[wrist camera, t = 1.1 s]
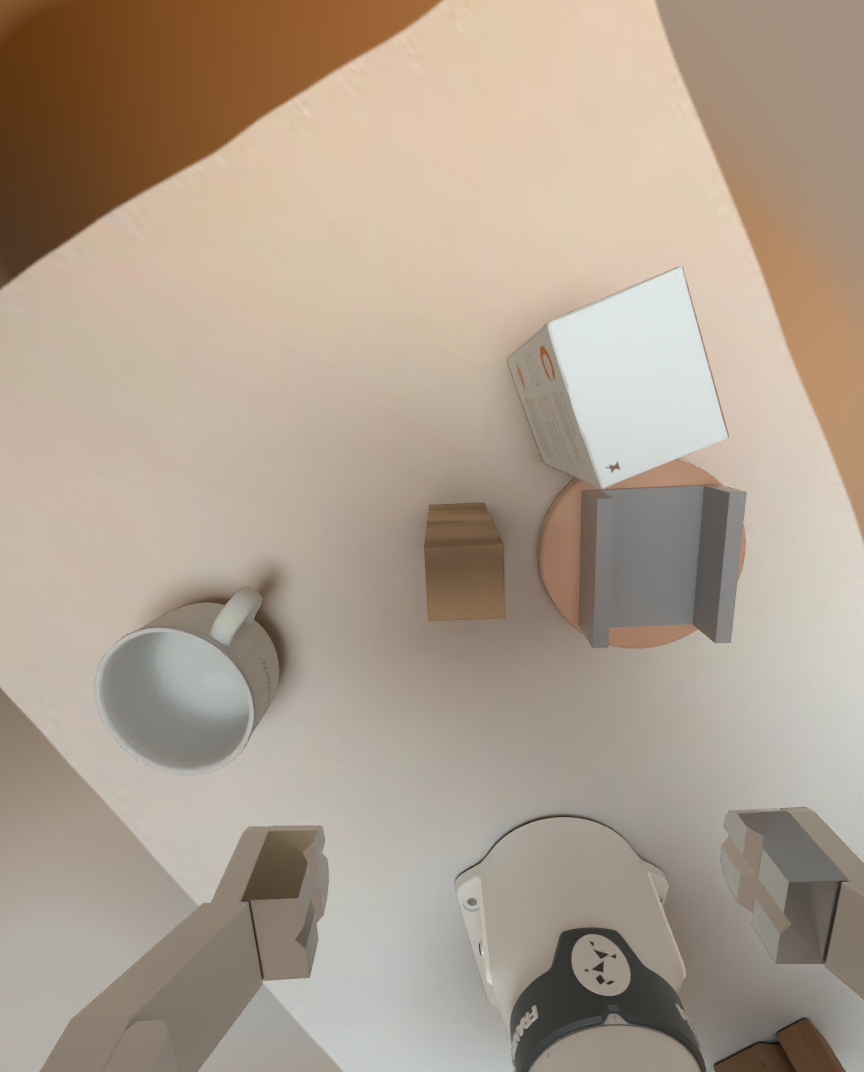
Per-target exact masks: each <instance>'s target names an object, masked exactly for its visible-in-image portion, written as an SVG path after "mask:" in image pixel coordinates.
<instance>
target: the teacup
mask: <svg viewBox="0 0 864 1072" xmlns="http://www.w3.org/2000/svg"><path fill="white" fill-rule="evenodd" d="M261 603H262V596H261V594H260V593H259V592H257V591H256V590H254V589H252V588H249V587H243V588H241V589H240V590H239V591H237V592H236V593H235V594H234V595H233V597H232V598H231V599H230V600H229V601H228V602H227V604H226V605H223V604H219V603H196V604H191V605H187V606H183V607H180V608H178V609H175V610H173V611H171V612H169V613H167V614H165V615H163V616H161V617H159V618H157V619H156V620H154V621H152V622H150V623H149V624H147V625H145V626H144V627H142V628H141V629H139V630H136V631H134V632H131V633H129V634H127V635H125V636H124V637H122V638H121V639H120V640H119V641H117V642H116V643H115V644H114V645H112V646H111V648H110V649H109V650H108V651H107V652H106V653H105V655H104V656H103V658H102V660H101V662H100V664H99V666H98V669H97V673H96V677H95V699H96V705H97V709H98V712H99V715H100V717H101V719H102V721H103V723H104V725H105V727H106V728H107V730H108V732H109V733H110V735H111V736H112V737H113V738H114V739H115V740H116V742H117V743H118V744H119V745H120V746H121V747H122V748H123V749H124V750H126V751H127V752H128V753H129V754H130V755H131V756H132V757H133V758H134V759H136V760H137V761H140V762H142V763H144V764H146V765H148V766H150V767H152V768H154V769H156V770H159V771H164V772H167V773H170V774H176V775H197V774H204V773H208V772H212V771H214V770H217V769H219V768H221V767H223V766H225V765H226V764H228V763H230V762H231V761H232V760H234V759H235V758H236V756H238V755H239V754H240V753H241V751H242V750H243V749H244V748H245V746H246V745H247V743H248V741H249V739H250V737H251V734H252V732H253V731H254V729H255V728H256V727H257V725H258V724H259V722H260V720H261V719H262V717H263V715H264V714H265V712H266V711H267V709H268V707H269V705H270V703H271V701H272V699H273V697H274V695H275V692H276V689H277V685H278V679H279V662H278V657H277V653H276V649H275V647H274V645H273V643H272V641H271V639H270V637H269V635H268V634H267V633H266V631H265V630H264V629H263V627H262V626H261V625H260V624H259V623H258V622H256V621H255V620H254V618H255V615H256V613H257V611H258V609H259V607H260V605H261Z"/></svg>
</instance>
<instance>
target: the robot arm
mask: <svg viewBox="0 0 864 1072" xmlns="http://www.w3.org/2000/svg"><path fill="white" fill-rule="evenodd" d="M723 827H724V828H725V830H726V831H727V833H728V834H729V837H728V838H727V840H726V841H725V842H724V843H723V844H722V845H721V855H720V861H721V866H722V870H723V875H724V878H725V880H726V882H727V885H728V887H729V889H730V891H731V892H732V894H733V896H734V897H735V899H736V901H737V902H738V903H740V904H741V905H742V906H744V907H745V908H746V909H748V910H749V911H750V912H752V913H753V914H752V927H753V928H754V930H755V932H756V933H757V935H758V936H759V938H760V940H761V941H762V943H763V944H764V946H765V948H766V949H767V951H768V953H769V954H770V956H771V957H772V959H773V961H774V962H775V964H825V967H826V968H827V969H828V970H830V971H831V972H832V973H833V974H834V975H835V976H837V977H838V978H839V979H840V980H841V981H843V982H844V983H845V984H846V985H847V986H848V987H850V988H851V989H852V990H853V991H854V992H855V993H857V994H858V995H859V996H860V997H861V998H863V999H864V863H863V862H862V861H861V860H860V859H859V858H858V857H857V856H856V855H855V854H854V853H853V852H852V851H851V850H850V849H849V848H848V847H847V845H846V844H845V843H844V842H843V841H842V840H841V839H840V838H839V837H838V836H837V835H836V834H835V833H834V832H833V831H832V830H831V829H830V828H829V827H828V826H827V825H826V823H825V822H824V821H823V820H822V819H821V818H820V817H819V816H818V815H817V814H816V813H815V812H814V811H812V810H811V809H809V808H807V807H796V808H780V809H755V810H734V811H728V813H727V814H726V815H725V819H724V826H723ZM324 843H325V837H324V830H323V827H322V826H320V825H319V826H273V827H248V828H247V829H246V830H245V831H244V832H243V833H242V836H241V838H240V840H239V842H238V844H237V846H236V849H235V851H234V853H233V855H232V857H231V860H230V862H229V864H228V866H227V868H226V871H225V873H224V875H223V877H222V879H221V881H220V884H219V886H218V888H217V890H216V892H215V895H214V897H213V899H212V901H211V903H203V904H202V905H200V906H199V907H198V908H197V909H196V910H195V911H194V912H193V913H192V914H190V915H189V916H188V917H187V918H186V919H185V920H183V921H182V922H181V923H180V924H179V925H178V926H177V927H175V928H174V929H173V930H172V931H171V932H170V933H169V934H168V935H166V937H164V938H163V939H162V940H161V941H160V942H159V943H157V944H156V945H155V946H154V947H153V948H152V949H151V950H150V951H148V952H147V953H146V954H145V955H144V956H143V957H142V958H140V959H139V960H138V961H137V962H136V963H135V964H133V965H132V966H131V967H130V968H129V969H128V970H127V971H126V972H124V973H123V974H122V975H121V976H120V977H119V978H118V979H117V980H115V981H114V982H113V983H112V984H111V985H110V986H109V987H107V989H105V990H104V991H103V992H102V993H101V994H100V995H98V996H97V997H96V998H95V999H94V1000H93V1001H92V1002H91V1003H89V1004H88V1005H87V1006H86V1007H85V1008H84V1009H82V1010H81V1011H80V1012H79V1013H78V1014H77V1015H76V1016H75V1017H73V1018H72V1019H71V1021H70V1022H69V1024H68V1025H67V1027H66V1029H65V1030H64V1032H63V1034H62V1035H61V1037H60V1039H59V1040H58V1042H57V1044H56V1045H55V1047H54V1049H53V1050H52V1052H51V1054H50V1055H49V1057H48V1059H47V1060H46V1062H45V1064H44V1066H43V1067H42V1069H41V1070H40V1072H198V1070H199V1069H200V1068H201V1066H202V1065H203V1064H204V1062H205V1061H206V1060H207V1058H208V1057H209V1055H210V1054H211V1053H212V1052H213V1050H214V1049H215V1047H216V1046H217V1045H218V1043H219V1042H220V1040H221V1039H222V1038H223V1037H224V1035H225V1034H226V1033H227V1031H228V1030H229V1029H230V1027H231V1026H232V1025H233V1023H234V1022H235V1021H236V1019H237V1018H238V1017H239V1015H240V1014H241V1013H242V1011H243V1010H244V1009H245V1007H246V1006H247V1005H248V1003H249V1002H250V1001H251V999H252V998H253V997H254V995H255V994H256V992H257V991H258V990H259V989H260V987H261V986H262V985H263V982H262V981H267V980H282V979H297V978H310V974H311V970H312V965H313V961H314V956H315V952H316V947H317V943H318V932H317V924H316V923H317V922H318V921H319V920H320V918H321V917H322V916H323V915H324V911H325V906H326V901H327V893H328V883H329V870H328V860H327V858H326V857H325V856H324V855H323V854H322V851H323V847H324ZM455 888H456V895H457V899H458V902H459V906H460V909H461V912H462V916H463V919H464V922H465V926H466V929H467V932H468V936H469V939H470V943H471V946H472V949H473V953H474V956H475V959H476V963H477V966H478V969H479V973H480V976H481V980H482V983H483V986H484V990H485V993H486V996H487V999H488V1001H489V1003H490V1004H491V1005H492V1006H494V1007H496V1008H498V1009H500V1012H501V1015H502V1018H503V1021H504V1024H505V1027H506V1030H507V1032H508V1035H509V1038H510V1041H511V1043H512V1048H511V1051H512V1062H513V1069H514V1072H706V1067H705V1063H704V1060H703V1057H702V1055H701V1052H700V1049H699V1044H698V1040H697V1037H696V1034H695V1032H694V1029H693V1026H692V1024H691V1022H690V1020H689V1018H688V1017H687V1015H686V1013H685V1011H684V1008H683V1006H682V1003H681V1001H680V999H679V995H680V994H681V992H682V989H683V982H684V979H686V969H685V965H684V962H683V960H682V957H681V954H680V952H679V949H678V946H677V944H676V941H675V939H674V936H673V933H672V931H671V928H670V925H669V923H668V920H667V918H666V915H665V912H664V910H663V906H664V903H665V900H666V897H667V894H668V891H669V885H668V882H667V879H666V876H665V874H664V873H663V872H662V871H661V870H660V869H659V868H657V867H655V866H654V865H652V864H650V863H648V862H646V861H644V860H642V859H641V858H639V857H638V856H637V854H636V853H635V852H634V851H633V849H632V848H631V847H630V846H629V844H628V843H627V842H626V841H625V840H624V839H623V838H622V837H621V836H620V835H618V834H617V833H616V832H614V831H613V830H611V829H609V828H608V827H606V826H603V825H601V824H599V823H596V822H593V821H590V820H586V819H580V818H572V817H556V818H548V819H542V820H538V821H535V822H532V823H529V824H526V825H524V826H522V827H520V828H518V829H516V830H514V831H512V832H511V833H509V834H508V835H507V836H505V837H504V838H503V839H502V840H500V841H499V842H498V843H497V844H496V845H495V846H494V848H493V849H492V850H491V851H490V853H489V854H488V855H487V857H486V858H485V859H484V860H483V861H482V862H481V863H480V864H478V865H476V866H475V867H473V868H471V869H469V870H467V871H466V872H464V873H463V874H461V875H460V876H459V877H458V878H457V879H456V882H455Z"/></svg>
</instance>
